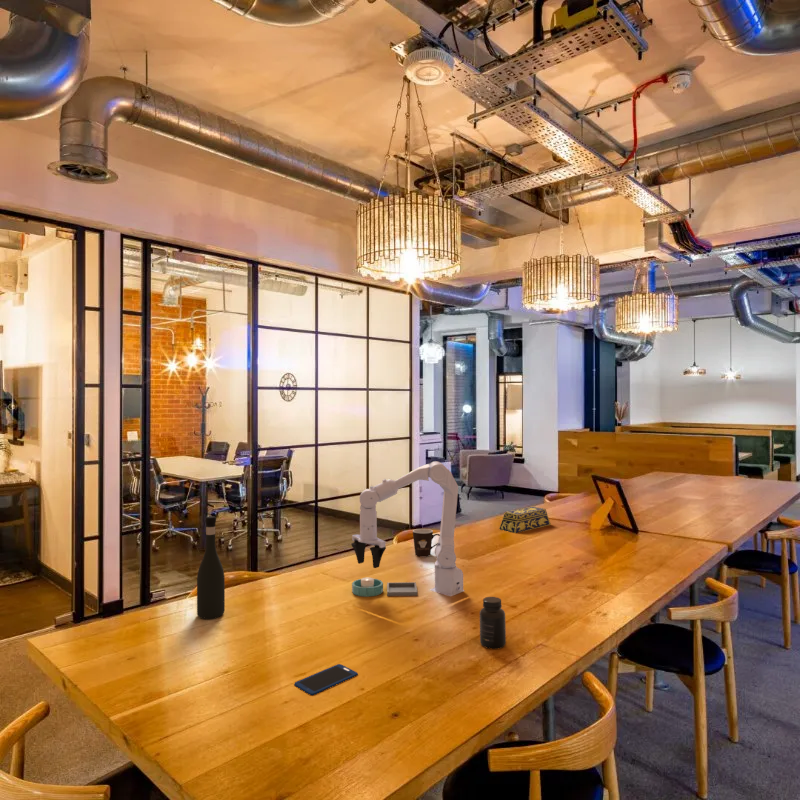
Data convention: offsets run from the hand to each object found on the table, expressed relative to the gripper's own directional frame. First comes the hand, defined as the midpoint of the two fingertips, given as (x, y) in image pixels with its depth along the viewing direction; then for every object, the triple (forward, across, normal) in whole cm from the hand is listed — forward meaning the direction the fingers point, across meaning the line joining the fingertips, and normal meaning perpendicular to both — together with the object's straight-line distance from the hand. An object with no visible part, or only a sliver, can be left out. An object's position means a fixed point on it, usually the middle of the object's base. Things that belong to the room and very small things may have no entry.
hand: (368, 565), depth 194 cm
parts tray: (+9, +8, +8) cm, 15 cm away
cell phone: (+10, +37, -48) cm, 61 cm away
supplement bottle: (+10, +54, -5) cm, 55 cm away
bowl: (+9, 0, 0) cm, 9 cm away
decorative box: (+10, -14, +124) cm, 125 cm away
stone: (+9, 0, 0) cm, 9 cm away
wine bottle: (+10, -20, -47) cm, 52 cm away
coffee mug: (+10, -17, +49) cm, 53 cm away
